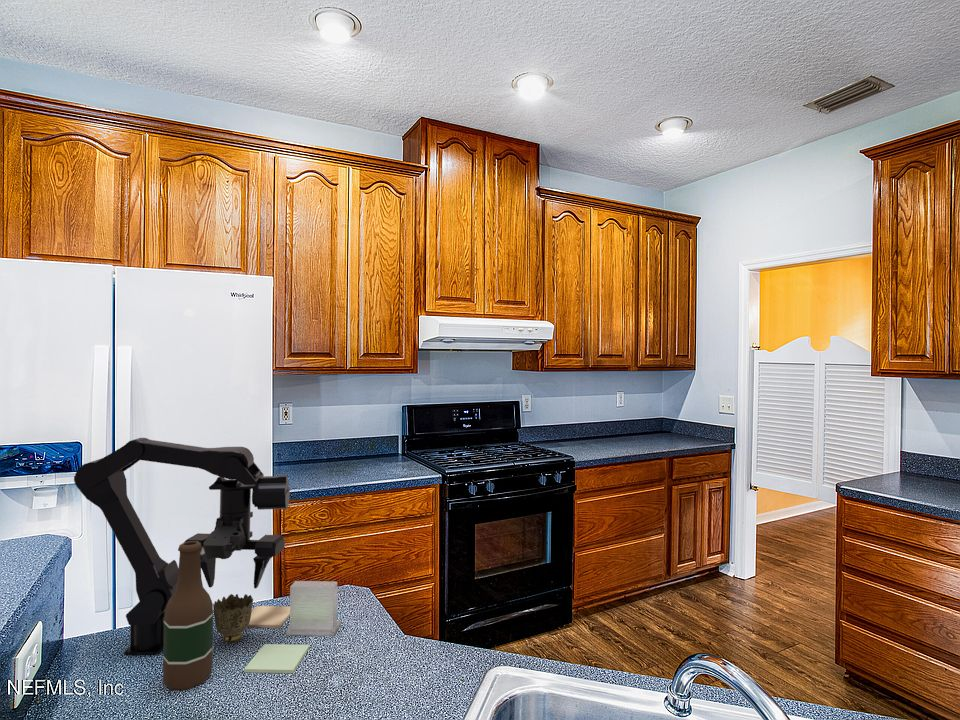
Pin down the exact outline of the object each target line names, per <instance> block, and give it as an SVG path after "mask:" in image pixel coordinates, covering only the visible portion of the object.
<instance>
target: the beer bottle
mask: <svg viewBox="0 0 960 720" xmlns="http://www.w3.org/2000/svg"><path fill="white" fill-rule="evenodd" d="M201 548H202V546H201V543H200V542H198V541H188V542H185V541H184V542H183V543H181V544H179V546H178V549H177V551H178V552H179V559H178V561H179V562H178V568H179V569H178V581H177V586H176V590H175V592H174V593H173V595H172V596H171V598H170V599H169V601H168V603H167V606H166V608H165V614H164V637H163V649H162V652H163V653H162V682H163V683H164V684H165V686H166V687H167V689H168V690H170V691H174V690H175V691H187V690H189V689H192V688H194V687H197V686H200V685H202V684H204V683H205V682H206V680H207V679H208V678H209V677H210V676H211V674H212V669H213V650H214V649H213V643H214V642H213V641H214V640H213V639H214V610H213V604H214V603H213V600H212V598H211V596H210V593H208V592H207V589H205V587H204V586H203V579H202V569H201V560H200V549H201Z"/></svg>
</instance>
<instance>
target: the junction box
mask: <svg viewBox="0 0 960 720" xmlns="http://www.w3.org/2000/svg"><path fill="white" fill-rule="evenodd" d="M289 588H290V589H289V592H290V593H289V607H290V616H289V627H288V629H287V630H286V631H285V632H286V636H316V637H317V636H318V637H321V636H322V637H323V636H326V637H330V636H331V637H334V636H336V634H337V632H338V630H339V629H340V627H341V626H342V620H338V581H332V580H331V581H325V580H323V581H320V580H319V581H318V580H295V581H294V582H293V583H292V584H291V585H290V587H289Z"/></svg>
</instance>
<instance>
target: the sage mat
mask: <svg viewBox="0 0 960 720" xmlns="http://www.w3.org/2000/svg"><path fill="white" fill-rule="evenodd" d="M310 649H311V647H310V644H278V643H277V644H274V643H273V644H271V643H269V644H268V643H264V644H263V645H262V646H261V647H260V649H259V650H258V652H257V653H256V654H255V655H254V656H253V658H252V659H251V660H250V661H249V663H248V664H247V665H246V666H245V668H243V673H255V674H256V673H257V674H258V673H259V674H262V673H263V674H264V673H265V674H294V673H295V672H296V670H297V668H298V667H299V665H300V663H301V662H302V660H303V659H304V657H305V656H306V655H307V653H308V651H309V650H310Z"/></svg>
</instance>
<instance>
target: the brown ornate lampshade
mask: <svg viewBox="0 0 960 720" xmlns="http://www.w3.org/2000/svg"><path fill="white" fill-rule="evenodd" d="M253 602H254V598H253V597H252V595H251V594H250V595H248V594H247V593H246V594H244V595H243V597H239V594H238V593H236V594H235V595H234V594H232V593H230V594H229V595H228V596H227V598H226V596H223V597H222V599H221V600H220V599H219V598H218V599H217V600H215V601H214V603H212V604H213V620H214V625H215V629H216V631H217V632H218V634H220V635H222V640H223V642H224V643H226V644H235V643H238V642H239V641H241V640H242V638H243V636H244V635H243V634H244V633H243V632H245V631H246V630H247V628H249V627H248V625H249V622H250V618H251V612H252V610H253V604H254V603H253Z"/></svg>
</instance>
